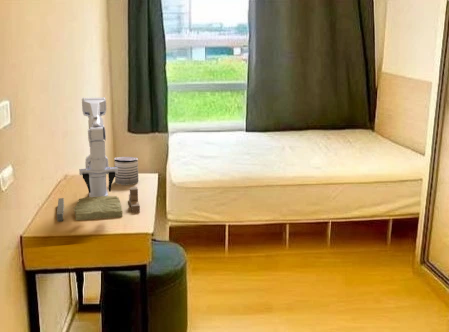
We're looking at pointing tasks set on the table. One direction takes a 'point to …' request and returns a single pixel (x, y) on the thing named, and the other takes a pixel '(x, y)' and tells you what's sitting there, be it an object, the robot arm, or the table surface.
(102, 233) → the table surface
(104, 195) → the robot arm
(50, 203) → the table surface
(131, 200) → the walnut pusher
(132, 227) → the table surface
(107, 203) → the decorative tile
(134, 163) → the can
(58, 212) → the stop rail
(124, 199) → the table surface
